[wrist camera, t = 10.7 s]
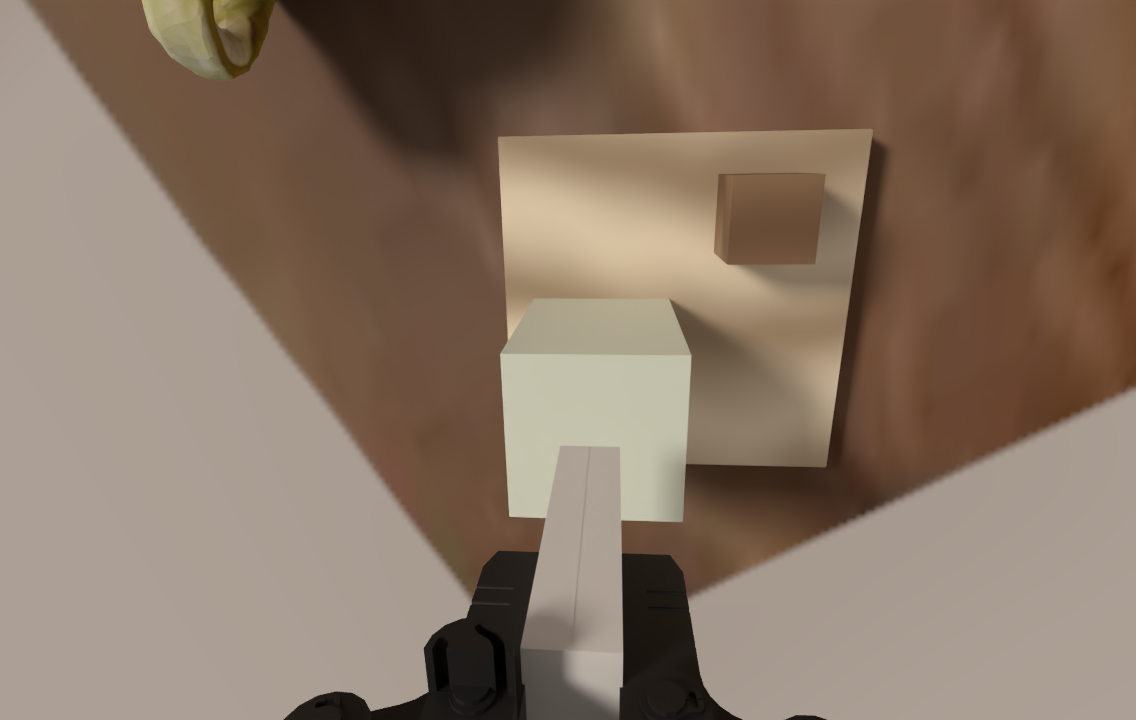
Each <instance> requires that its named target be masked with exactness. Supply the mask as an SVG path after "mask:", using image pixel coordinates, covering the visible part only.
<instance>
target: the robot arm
mask: <svg viewBox="0 0 1136 720" xmlns="http://www.w3.org/2000/svg"><path fill="white" fill-rule="evenodd" d="M424 654H425V663H426V672H427V679H428V689H429V692H428V693H426V694H424V695H422V696H420V697H419V698H417V699H415V700H412V701H409V702H406V703H403V704H400V705H396V706H392V707H388V708H383V709H379V710H375V711H370V710H369V708H368V706H367V704H366V702H365V700H364V699H362V698H360V697H358V696H357V695H355V694H353V693H347V692H332V693H327V694H323V695H319V696H317V697H314V698H313V699H311V700H309V701H307V702H305V703H303V704H301V705H299V706H298V707H297V708H296V709H295V710H294V711H293V712H291V713H290V714H289V715H288V716H287V717H286V718H285V719H284V720H742V719H740V718H738V717H736V716H733V715H732V714H730V713H729V712H727V711H726V710H724V709H723V708H722V707H720V706H719V705H718V704H717V703H716V702H715V701H714V700H713V699H712V698H711V697H710V695H709V694H708V692H707V690H706V689H705V687H704V685H703V682H702V679H701V676H700V672H699V665H698V660H697V653H696V648H695V641H694V635H693V629H692V623H691V617H690V613H689V605H688V599H687V596H686V587H685V581H684V575H683V572H682V570H681V569H680V568H679V566H678V565H677V564H676V563H675V561H674V560H673V559H672V557H671V556H670V555H651V554H623V553H622V548H621V485H620V447H603V446H560V450H559V455H558V460H557V465H556V470H555V475H554V480H553V485H552V491H551V496H550V501H549V506H548V511H547V516H546V521H545V526H544V531H543V536H542V541H541V546H540V551H539V552H517V551H498V552H497V553H496V554H495V555H494V556H493V557H492V558H491V559H490V560H489V561H488V562H487V563H486V564H485V565H484V566H483V569H482V572H481V575H480V578H479V581H478V584H477V589H476V590H475V593H474V596H473V599H472V605H470V608H469V611H468V614H467V618H465V619H460V620H457V621H455V622H452V623H450V624H447V625H445V626H444V627H442V628H441V629H440V630H438V631H437V632H436V633H435V634H433V635H432V636H431V638H430V640H429V641H428V643H427V644H426V646H425V647H424ZM786 720H826V719H823V718H820V717H817V716H806V715H796V716H793V717H791V718H788V719H786Z"/></svg>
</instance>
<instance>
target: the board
mask: <svg viewBox="0 0 1136 720" xmlns="http://www.w3.org/2000/svg"><path fill="white" fill-rule="evenodd" d="M872 134H873V129H842V130H795V131H748V132H701V133H654V134H607V135H559V136H512V137H498V148H499V168H500V188H501V207H502V227H503V247H504V267H505V286H506V306H507V326H508V340H509V339H510V337H511V336H512V334H513V332H514V331H515V329H516V327H517V326H518V324H519V322H520V321H521V319H522V318H523V316H524V314H525V313H526V311H527V309H528V308H529V306H530V305H531V303H532V301H533V300H534V298H645V299H669V300H670V303H671V305H672V308H673V310H674V313H675V315H676V318H677V320H678V323H679V325H680V328H681V330H682V333H683V335H684V338H685V340H686V343H687V345H688V348H689V350H690V353H691V374H690V393H689V412H688V431H687V449H686V464H706V465H750V466H793V467H826V465H827V457H828V450H829V443H830V436H831V429H832V421H833V414H834V407H835V400H836V393H837V385H838V378H839V371H840V364H841V357H842V350H843V342H844V335H845V328H846V321H847V314H848V306H849V299H850V292H851V285H852V278H853V270H854V263H855V256H856V249H857V242H858V235H859V227H860V220H861V213H862V206H863V199H864V191H865V184H866V177H867V170H868V163H869V156H870V148H871V141H872Z"/></svg>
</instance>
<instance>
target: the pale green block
mask: <svg viewBox="0 0 1136 720" xmlns="http://www.w3.org/2000/svg"><path fill="white" fill-rule="evenodd" d="M500 357H501V375H502V393H503V411H504V429H505V447H506V465H507V483H508V500H509V517H534V518H546V516H547V511H548V506H549V501H550V496H551V491H552V485H553V480H554V475H555V470H556V465H557V460H558V455H559V450H560V446H603V447H620V485H621V520H633V521H666V522H683V506H684V487H685V468H686V449H687V431H688V412H689V393H690V374H691V353H690V350H689V348H688V345H687V343H686V340H685V338H684V335H683V333H682V330H681V328H680V325H679V323H678V320H677V318H676V315H675V313H674V310H673V308H672V305H671V303H670V300H669V299H645V298H534V300H533V301H532V303H531V305H530V306H529V308H528V309H527V311H526V313H525V314H524V316H523V318H522V319H521V321H520V322H519V324H518V326H517V327H516V329H515V331H514V332H513V334H512V336H511V337H510V339H509V340H508V342H507V344H506V345H505V347H504V349H503V350H502V352H501V354H500Z"/></svg>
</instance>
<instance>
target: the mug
mask: <svg viewBox="0 0 1136 720" xmlns="http://www.w3.org/2000/svg"><path fill="white" fill-rule="evenodd" d="M276 1H278V0H214V2H213V0H142V3H143V7H144V11H145V15H146V19H147V22H148V26H149V29H150V31H151V32H152V34H153V35H154V36H155V38H156V39H157V40H158V41H159V42H160V43H161V44H162V45H163V47H164V48H165V50H166V51H167V53H168V54H169V55H170V57H171V58H173V59H174V60H176V61H177V62H179V63H180V64H182V65H183V66H185V67H187V68H188V69H190V70H191V71H193V72H194V73H196V74H197V75H199V76H201V77H204V78H207V79H212V80H232V79H234V78H236V77H237V76H239V75H241V74H243V73H246V72H248V71H249V70H250V67H251V65H252V63H253V62H254V61H255V59H256V58H257V57H258V56H259V52H260V49H261V46H262V44H263V41H264V39H265V36H266V34H267V32H268V25H269V19H270V16H271V14H272V11H273V6H274V4H275V2H276Z"/></svg>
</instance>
